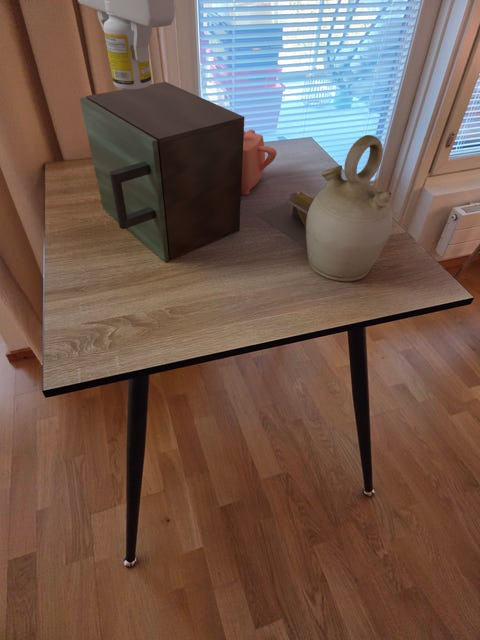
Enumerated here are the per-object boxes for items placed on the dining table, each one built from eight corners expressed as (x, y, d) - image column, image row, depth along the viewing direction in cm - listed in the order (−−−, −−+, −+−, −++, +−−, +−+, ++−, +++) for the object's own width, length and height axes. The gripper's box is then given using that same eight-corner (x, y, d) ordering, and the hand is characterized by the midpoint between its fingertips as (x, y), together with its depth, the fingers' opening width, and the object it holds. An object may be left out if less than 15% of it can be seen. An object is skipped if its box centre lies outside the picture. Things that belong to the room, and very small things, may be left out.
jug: (287, 249, 87) (305, 123, 69) (351, 237, 91) (383, 116, 73) (322, 295, 76) (354, 161, 59) (392, 278, 81) (441, 150, 63)
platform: (309, 251, 86) (314, 223, 82) (255, 213, 96) (257, 187, 92) (348, 234, 92) (355, 207, 87) (294, 200, 102) (297, 174, 97)
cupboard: (170, 260, 82) (158, 138, 66) (108, 207, 96) (85, 96, 79) (239, 230, 91) (244, 116, 75) (173, 186, 104) (165, 81, 88)
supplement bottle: (146, 77, 62) (136, -5, 55) (156, 88, 59) (147, 2, 52) (110, 81, 61) (95, -4, 54) (117, 92, 57) (103, 3, 50)
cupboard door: (134, 275, 78) (112, 151, 62) (74, 218, 92) (44, 104, 75) (169, 260, 82) (157, 140, 66) (107, 207, 95) (84, 97, 79)
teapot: (250, 167, 114) (253, 116, 105) (279, 192, 104) (284, 139, 95) (193, 177, 109) (191, 124, 99) (218, 205, 99) (218, 149, 89)
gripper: (183, -81, 43) (190, 69, 53) (93, -88, 54) (113, 38, 64) (129, -82, 40) (148, 77, 50) (46, -89, 51) (74, 43, 61)
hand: (128, 55), depth 57 cm, fingers closed on supplement bottle, 5 cm apart
